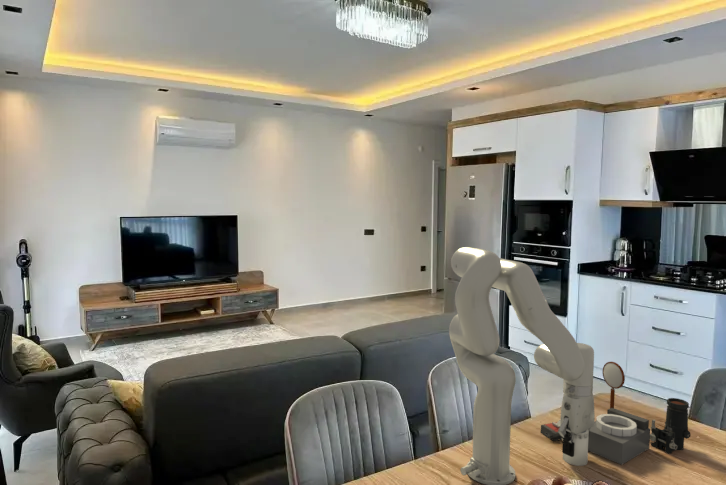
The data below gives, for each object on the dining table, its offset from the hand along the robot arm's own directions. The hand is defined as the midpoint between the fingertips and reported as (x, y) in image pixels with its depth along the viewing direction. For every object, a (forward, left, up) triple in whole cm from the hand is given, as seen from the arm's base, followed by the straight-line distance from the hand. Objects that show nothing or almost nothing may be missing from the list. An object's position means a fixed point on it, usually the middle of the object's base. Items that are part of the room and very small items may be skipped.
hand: (575, 450), depth 139 cm
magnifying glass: (+33, +7, -3) cm, 34 cm away
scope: (+30, -13, -3) cm, 33 cm away
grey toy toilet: (+16, -3, -3) cm, 17 cm away
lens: (0, 0, -3) cm, 3 cm away
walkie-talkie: (+14, +10, -3) cm, 18 cm away
